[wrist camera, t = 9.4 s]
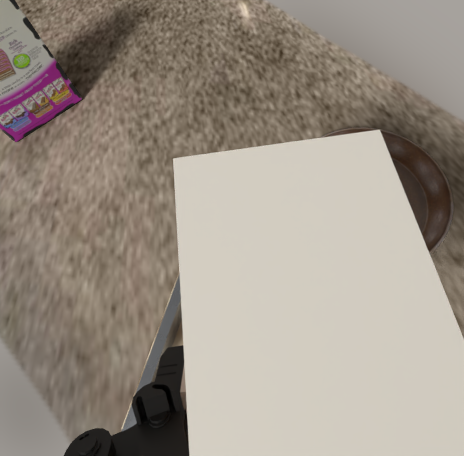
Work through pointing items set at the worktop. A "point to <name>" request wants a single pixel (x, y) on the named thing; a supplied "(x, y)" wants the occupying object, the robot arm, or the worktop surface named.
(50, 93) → the candy bar box
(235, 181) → the carton
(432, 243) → the plant saucer
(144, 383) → the rail
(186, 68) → the worktop surface
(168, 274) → the worktop surface
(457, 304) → the worktop surface
